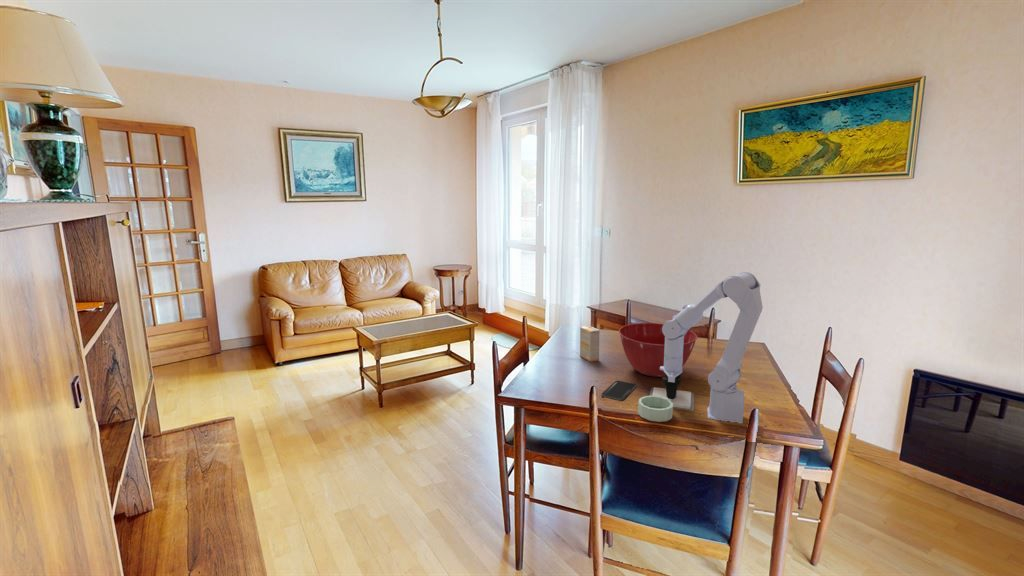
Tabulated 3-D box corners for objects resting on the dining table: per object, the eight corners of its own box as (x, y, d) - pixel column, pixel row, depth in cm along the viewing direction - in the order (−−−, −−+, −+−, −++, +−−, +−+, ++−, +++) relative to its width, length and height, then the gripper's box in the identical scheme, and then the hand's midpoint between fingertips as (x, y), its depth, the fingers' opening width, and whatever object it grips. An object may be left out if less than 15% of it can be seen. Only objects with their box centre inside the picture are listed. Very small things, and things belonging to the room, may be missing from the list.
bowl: (673, 410, 147) (673, 398, 146) (671, 424, 137) (672, 411, 137) (640, 405, 150) (640, 393, 149) (636, 419, 141) (636, 406, 140)
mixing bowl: (702, 366, 184) (704, 328, 181) (684, 391, 160) (686, 348, 157) (632, 354, 199) (633, 319, 196) (606, 375, 176) (607, 336, 173)
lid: (690, 394, 158) (691, 383, 157) (690, 409, 147) (690, 397, 146) (653, 389, 162) (654, 379, 161) (650, 403, 151) (651, 392, 150)
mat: (694, 394, 158) (694, 393, 158) (693, 411, 145) (693, 410, 145) (651, 388, 163) (651, 387, 163) (647, 405, 150) (647, 404, 150)
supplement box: (599, 360, 192) (600, 329, 189) (589, 362, 190) (590, 331, 188) (589, 354, 200) (589, 324, 197) (579, 356, 198) (579, 326, 195)
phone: (600, 394, 157) (616, 380, 169) (600, 398, 157) (616, 383, 170) (622, 399, 153) (637, 384, 165) (622, 403, 153) (637, 387, 165)
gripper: (662, 347, 159) (660, 385, 162) (658, 361, 146) (656, 402, 149) (684, 349, 157) (681, 387, 159) (682, 364, 144) (680, 405, 146)
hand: (671, 395), depth 154 cm, fingers open, 5 cm apart
